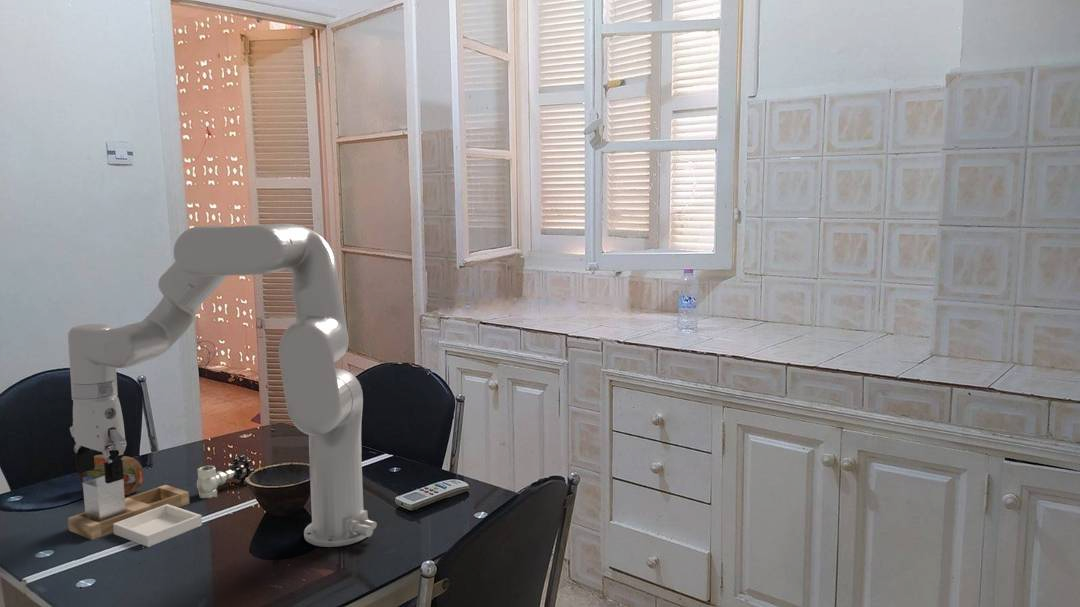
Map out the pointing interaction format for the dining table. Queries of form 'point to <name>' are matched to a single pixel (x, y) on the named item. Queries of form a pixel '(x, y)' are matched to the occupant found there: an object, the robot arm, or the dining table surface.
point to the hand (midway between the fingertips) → (99, 476)
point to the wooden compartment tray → (129, 510)
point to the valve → (221, 476)
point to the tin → (130, 473)
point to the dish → (157, 525)
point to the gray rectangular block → (103, 499)
